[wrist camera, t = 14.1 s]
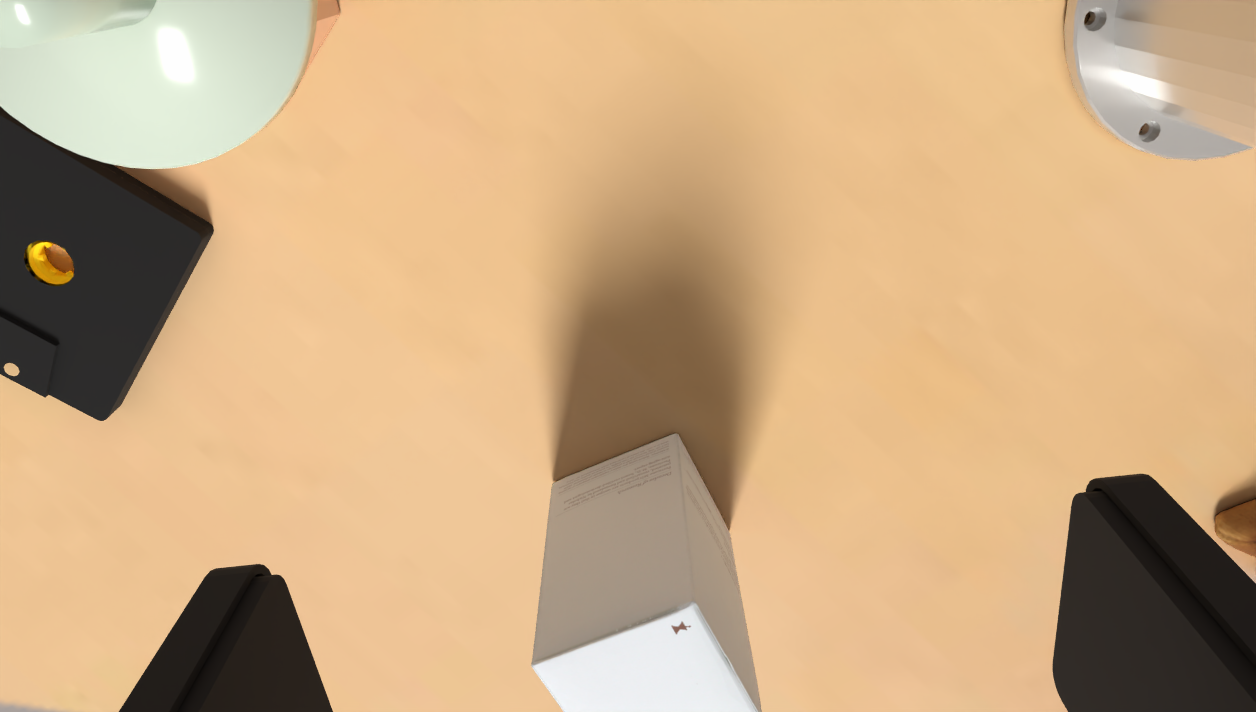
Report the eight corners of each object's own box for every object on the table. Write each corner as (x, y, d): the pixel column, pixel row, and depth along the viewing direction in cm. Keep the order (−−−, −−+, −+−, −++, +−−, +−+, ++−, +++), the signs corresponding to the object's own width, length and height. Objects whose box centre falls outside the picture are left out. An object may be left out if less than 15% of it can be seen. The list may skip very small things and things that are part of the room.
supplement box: (547, 480, 46) (523, 663, 34) (679, 428, 45) (699, 600, 33) (608, 582, 49) (605, 781, 37) (733, 536, 47) (769, 728, 36)
